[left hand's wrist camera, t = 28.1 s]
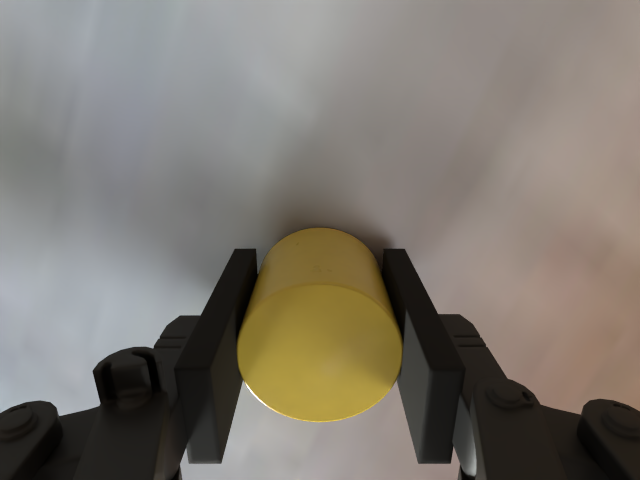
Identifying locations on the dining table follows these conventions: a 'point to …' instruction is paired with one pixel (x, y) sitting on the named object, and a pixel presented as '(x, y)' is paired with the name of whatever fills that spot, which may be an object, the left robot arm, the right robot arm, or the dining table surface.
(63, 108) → the dining table surface
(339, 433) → the dining table surface
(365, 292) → the canister
